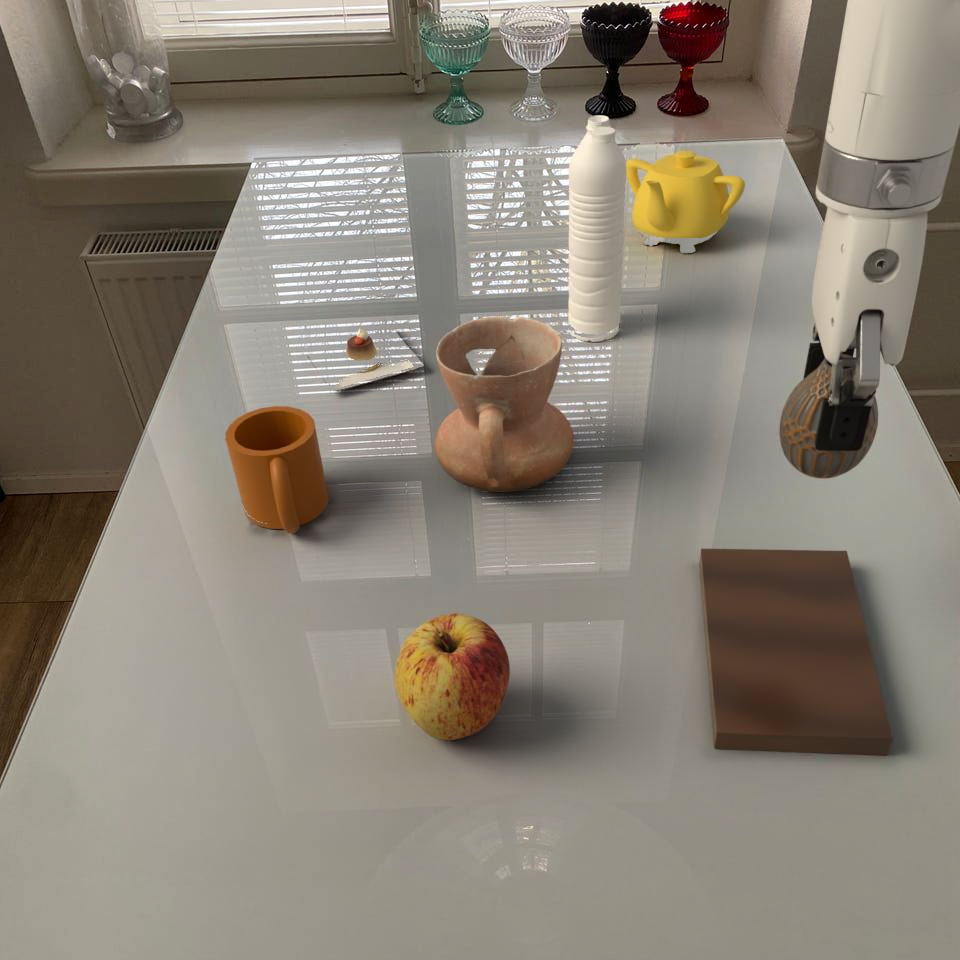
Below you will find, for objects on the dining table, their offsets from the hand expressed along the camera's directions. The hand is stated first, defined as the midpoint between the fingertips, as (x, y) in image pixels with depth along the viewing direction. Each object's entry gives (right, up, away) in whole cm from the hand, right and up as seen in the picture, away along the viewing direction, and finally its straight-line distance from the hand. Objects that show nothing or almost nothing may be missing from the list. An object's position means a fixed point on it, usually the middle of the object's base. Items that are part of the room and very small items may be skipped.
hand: (830, 417), depth 74 cm
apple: (-28, -23, +7) cm, 37 cm away
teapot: (+1, +40, +68) cm, 79 cm away
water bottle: (-12, +22, +51) cm, 57 cm away
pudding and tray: (-41, +17, +49) cm, 66 cm away
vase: (0, -3, +3) cm, 4 cm away
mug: (-46, -4, +29) cm, 54 cm away
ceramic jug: (-23, +1, +32) cm, 39 cm away
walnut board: (0, -18, +10) cm, 20 cm away
